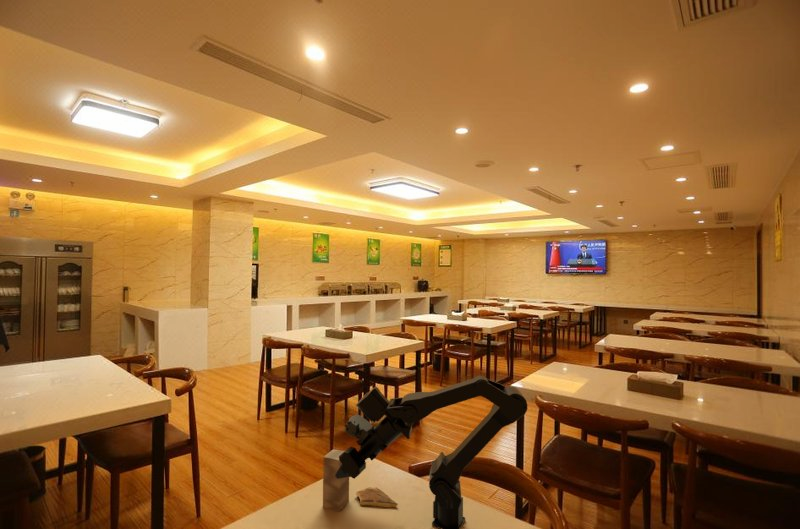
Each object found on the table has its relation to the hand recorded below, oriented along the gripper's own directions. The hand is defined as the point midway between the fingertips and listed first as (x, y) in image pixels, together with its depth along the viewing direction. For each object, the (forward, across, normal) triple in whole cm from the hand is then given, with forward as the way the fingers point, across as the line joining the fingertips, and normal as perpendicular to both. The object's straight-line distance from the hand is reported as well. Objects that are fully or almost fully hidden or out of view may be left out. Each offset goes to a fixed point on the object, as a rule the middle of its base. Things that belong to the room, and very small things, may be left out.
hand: (345, 468), depth 103 cm
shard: (+3, -7, +12) cm, 14 cm away
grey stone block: (+9, 0, +5) cm, 10 cm away
